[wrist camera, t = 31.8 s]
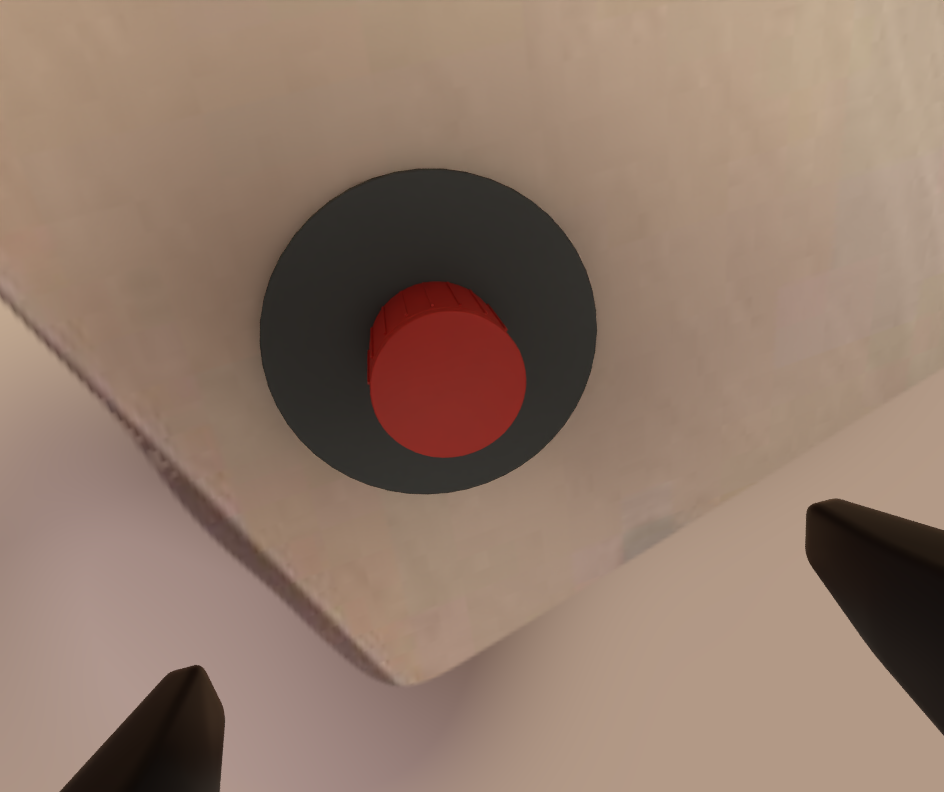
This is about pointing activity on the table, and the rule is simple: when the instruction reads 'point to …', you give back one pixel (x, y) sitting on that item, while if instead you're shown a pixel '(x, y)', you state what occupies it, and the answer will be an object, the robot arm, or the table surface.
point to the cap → (443, 371)
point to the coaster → (401, 266)
